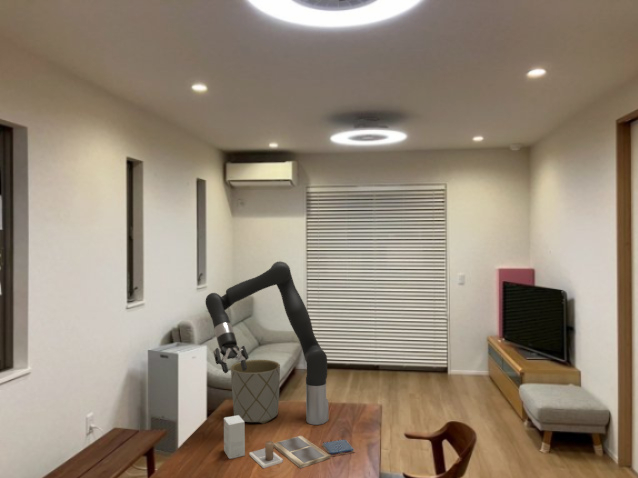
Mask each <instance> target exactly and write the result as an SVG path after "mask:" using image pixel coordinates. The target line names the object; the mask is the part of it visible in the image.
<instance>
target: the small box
mask: <svg viewBox="0 0 638 478" xmlns="http://www.w3.org/2000/svg"><path fill="white" fill-rule="evenodd" d="M245 425H246V423H245V421H243V419H242V418H241V417H240V416H239V415H237V416H234V415H232V416H225V417H223V450H224V453H225V455H226V456H227V457H228V459H229V460H232V459H235V458H241V457H244V456H246V434H245V433H246V431H245V427H246V426H245Z"/></svg>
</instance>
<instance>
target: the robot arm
mask: <svg viewBox="0 0 638 478" xmlns="http://www.w3.org/2000/svg"><path fill="white" fill-rule="evenodd" d="M292 275H293V274H292V273H291V268H290V266H289V265H288V264H287V262H285V261H284V262H283V261H276V262H274V263H273V264H272V265H271V267H270V268H269V269H268V270H266V271H264V272H262V273H261V274H259V275H257V276H255V277H252V278H250V279H246V280H244V281H241V282H239V283H237V284H234V285H231V287H228V288H227V289H226V291H225V294H223V295H222V296H221V295H220V294H219V293H216V292H211V293H209V294H208V295H207V296H206V298H205V305H206V309H207V311H208V314H209V315H210V318H211V321H212V325H213V328H214V333H215V337H216V341H217V344H218V347H216V348H215V349H214V350H213V356H214V360H215V364H216V365H220V366H221V369H222V372H223V374H228V372H229V367H228V365H227V360H230V359H233V360H234V359H235V360H236V361H238V362H241V363H240V364H241V367H242V370H243V371H245V370H246V369H247V365H246V362H245V361H248V360H249V354H248V352H247V349H246V347H245V345H242V346H238V341H237V338H236V335H235V332H234V328H233V326H232V324H231V321H230V318H229V314H228V313H227V311H226V310H227V309H229V308H231V307H232V306H233V305H234V304H235V303H237V302H240V301H242V300H244V299H246V298H247V297H248V298H249V297H250V296H251V295H254V294H255V293H258V292H260V291H262V290H264V289H267V288H270V287H273V286H275V285H276V286H277V288H278V290H279V293H280V297H281V300H282V304H283V308H284V312H285V314H286V316H287V318H288V321H289V323H290V326H291V329H292V330H293V332H294V334H295V335H296V336H297V338H298V341H299V343H300V347H301V348H302V349H301V350H302V353H303V357H304V361H305V363H306V376H305V411H306V412H305V413H306V415H305V417H306V419H305V420H306V423H308V424H310V425H316V426H317V425H318V426H319V425H323V424H325V423H327V422H328V421H329V399H328V398H327V378H328V357H327V354H326V351H324V350H323V348H321V345H320V344H319V342H318V340H317V338H316V335H315V333H314V330H313V325H312V320H311V317H310V314H309V312H308V309H307V307H306V304H305V303H304V301H303V298H302V297H301V295H300V293H299V291H298V290H297V287H296V286H295V282H294V279H293V276H292ZM221 355H222V358H221Z"/></svg>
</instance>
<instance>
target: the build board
mask: <svg viewBox="0 0 638 478" xmlns="http://www.w3.org/2000/svg"><path fill="white" fill-rule="evenodd" d="M274 448H275V449H276V451H278V452H279V453H280V454H282V455H283V456H284V457H285V458H287V459H288V460H289V461H291V463H292V464H294V465H295V466H297V467H298V468H299V469H303V468H305V467H309V466H311V465H315V464H317V463H320V462H323V461H326V460H330V458H331V456H330V455H329V454H328V453H327V451H326V452H325V451H324V450H323V449H322V448H320V447H319V446H317V445H316V444H314V443H312V442H311V441H309V439H307V438H305V437H304V436H303V435H298V436H295V437H291V438H288V439H284V440H280V441H276V442H273V449H274Z"/></svg>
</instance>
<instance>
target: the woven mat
mask: <svg viewBox="0 0 638 478" xmlns="http://www.w3.org/2000/svg"><path fill="white" fill-rule="evenodd" d="M322 447H323V449H324V450H325V451H326V453H327V454H329V455H330V457H335V456H342V455H347V454H354V453H355V449H354V447H352V445H351V444H350V442H348V440H347V439H337V440H333V441H332V440H330V441H324V442H323V443H322Z"/></svg>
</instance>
